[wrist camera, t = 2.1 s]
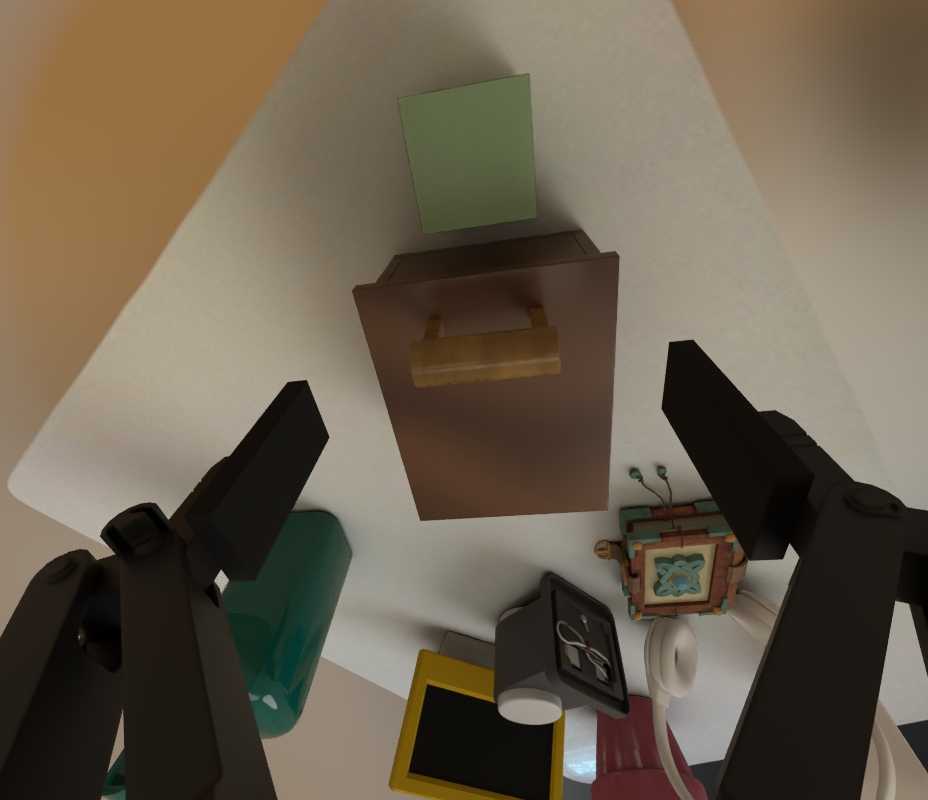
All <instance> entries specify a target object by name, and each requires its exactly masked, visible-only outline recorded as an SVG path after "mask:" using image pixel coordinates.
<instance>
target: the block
mask: <svg viewBox="0 0 928 800" xmlns="http://www.w3.org/2000/svg"><path fill="white" fill-rule="evenodd" d="M397 101H398V106H399V112H400V117H401V122H402V127H403V132H404V138H405V143H406V148H407V153H408V158H409V164H410V169H411V174H412V179H413V184H414V190H415V195H416V200H417V205H418V211H419V216H420V221H421V226H422V231H423V234H424V235H425V234H431V233H438V232H445V231H452V230H459V229H466V228H473V227H480V226H487V225H493V224H500V223H507V222H514V221H521V220H528V219H535V218H537V202H536V184H535V165H534V146H533V128H532V109H531V90H530V74H529V73H528V74H523V75H517V76H512V77H507V78H501V79H496V80H491V81H486V82H480V83H475V84H470V85H464V86H459V87H454V88H449V89H443V90H438V91H433V92H427V93H422V94H417V95H411V96H406V97H401V98H397Z"/></svg>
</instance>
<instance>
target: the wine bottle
mask: <svg viewBox="0 0 928 800" xmlns="http://www.w3.org/2000/svg"><path fill="white" fill-rule="evenodd" d="M875 718H876V720H877V722H878V723H879V725H880V727H881V729H882V731H883V733H884V735H885V738H886V740H887V742H888V745H889V748H890V751H891V754H892V758H893V761H894V767H895V774H896V792H895V798H894V800H928V773H927V772H926V770H925V769H924V767H923V766H922V764H921V763H920V761H919V760H918V758H917V757H916V755H915V753H914V752H913V751H912V749H911V748H910V746H909V744H908V743H907V742H906V740H905V738H904V737H903V735H902V734H901V732H900V731H899V729H898V728H897V726H896V725H895V723H894V722H893V720H892V719H891V717H890V715H889V714H888V712H887V711H886V709H885V708H884V706H883V705H882V703H881V702H880V700H879V699H878V702H877V708H876V714H875ZM878 780H879V763H878V756H877V751H876V747H875V743H874V740H873V737H872V736H871V742H870V748H869V754H868V759H867V765H866V771H865V776H864V782H863V788H862V794H861V799H860V800H876V793H877V788H878Z"/></svg>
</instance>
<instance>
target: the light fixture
mask: <svg viewBox="0 0 928 800" xmlns="http://www.w3.org/2000/svg"><path fill="white" fill-rule="evenodd" d="M540 590H541V598H539V599H537V600H536V601H534V602H532V603H530V604H529V605H527V606H525V607H517V608H513V609H510V610H508V611H506V612H505V613H504V614H503V615H502V616H501V619H500V622H499V623H498V625H497V626H496V632H495V661H494V691H493V699H494V701H495V703H496V704H497V705H498V711H499V713H500V714H501V715H502V716H503V717H505V718H506V719H508V720H511V721H514V722H517V723H522V724H530V725H541V724H548V723H552V722H554V721H556V720H558V719H559V718H560V717H561V715H562V711H564V710H568V709H572V708H576V707H580V706H584V705H589V706H591V707H593V708H595V709H597V710H599V711H601V712H603V713H605V714H607V715H609V716H611V717H613V718H615V719H620V718H624V717H628V716H630V714H631V706H630V700H629V695H628V690H627V684H626V679H625V674H624V668H623V663H622V658H621V653H620V647H619V642H618V637H617V631H616V626H615V621H614V617H613V615H612V613H611V611H610V610H609V609H608V608H607V607H606V606H605V605H603V604H602V603H600V602H598V601H597V600H595V599H594V598H592V597H591V596H589V595H587V594H586V593H584V592H583V591H581V590H580V589H578V588H576V587H575V586H573V585H572V584H570V583H568V582H567V581H565V580H564V579H562V578H560V577H559V576H557V575H556V574H549V575H548V576H546V577H544V578H542V579H541V581H540Z"/></svg>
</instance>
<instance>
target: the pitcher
mask: <svg viewBox="0 0 928 800" xmlns="http://www.w3.org/2000/svg"><path fill="white" fill-rule="evenodd" d="M351 560H352V551H351V549H350V547H349V544H348V542H347V540H346V537H345V535H344V533H343V530H342V528H341V526H340V523H339V522H338V521H337V520H336V519H335V518H334V517H333V516H331V515H329V514H327V513H324V512H300V513H290V515H289V516H288V518H287V520H286V522H285V524H284V526H283V528H282V530H281V532H280V534H279V536H278V538H277V540H276V542H275V543H274V545H273V547H272V549H271V551H270V553H269V555H268V557H267V559H266V561H265V563H264V565H263V567H262V569H261V571H260V572H259V574H258V576H257V578H256V580H255V581H243V582H230V581H228V582H227V584H226V586H225V588H224V589H223V591H222V593H221V596H222V599H223V603H224V607H225V610H226V614H227V618H228V621H229V625H230V628H231V632H232V636H233V639H234V643H235V647H236V650H237V654H238V658H239V661H240V665H241V669H242V672H243V676H244V679H245V683H246V687H247V690H248V694H249V698H250V701H251V705H252V709H253V712H254V716H255V719H256V723H257V727H258V730H259V734H260V738H261V739H271V738H276V737H280V736H283V735H285V734H286V733H288V732H289V731H291V730H292V729H293V728H294V726H295V725H296V724H297V722H298V721H299V719H300V717H301V715H302V712H303V709H304V705H305V702H306V699H307V696H308V693H309V690H310V687H311V684H312V681H313V677H314V675H315V671H316V668H317V665H318V662H319V659H320V656H321V653H322V650H323V647H324V644H325V640H326V637H327V634H328V631H329V628H330V625H331V622H332V619H333V616H334V613H335V609H336V606H337V603H338V600H339V597H340V594H341V591H342V588H343V585H344V582H345V578H346V575H347V572H348V569H349V566H350V563H351ZM102 796H103V797H105V798H106V799H108V800H126V791H125V754H124V749H123V751H122V752H121V754H120V755H119V757H118V758H117V760H116V761H115V763H114V764H113V766H112V767H111V769H110V770H109V772H108V773H107V776H106V780H105V784H104V788H103V792H102Z"/></svg>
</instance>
